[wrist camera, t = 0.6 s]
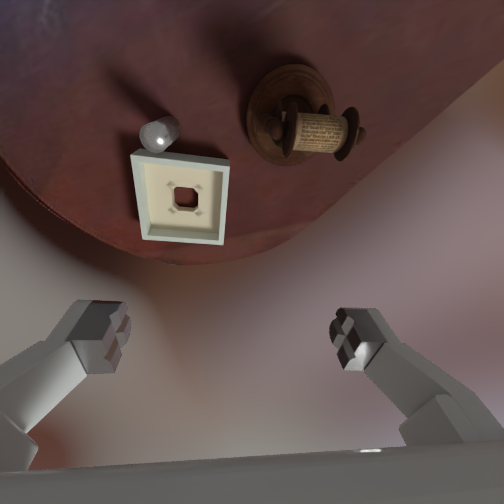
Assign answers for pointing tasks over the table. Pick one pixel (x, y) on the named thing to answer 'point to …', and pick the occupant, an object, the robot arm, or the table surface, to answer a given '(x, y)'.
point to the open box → (162, 196)
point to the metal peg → (160, 133)
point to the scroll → (299, 118)
